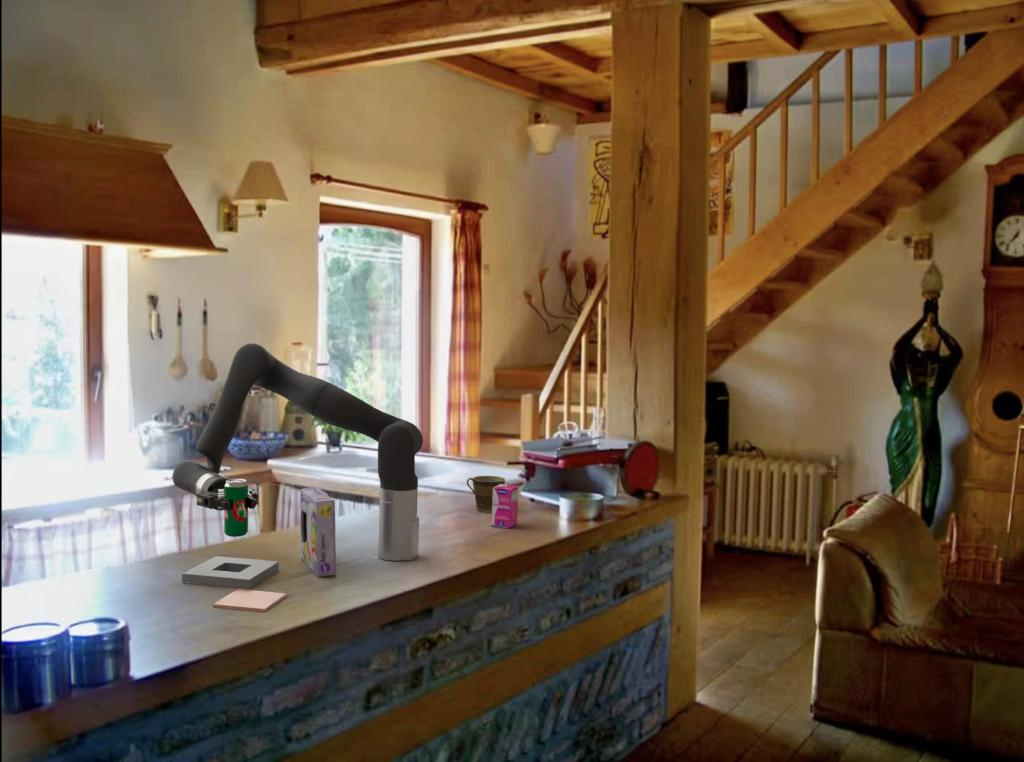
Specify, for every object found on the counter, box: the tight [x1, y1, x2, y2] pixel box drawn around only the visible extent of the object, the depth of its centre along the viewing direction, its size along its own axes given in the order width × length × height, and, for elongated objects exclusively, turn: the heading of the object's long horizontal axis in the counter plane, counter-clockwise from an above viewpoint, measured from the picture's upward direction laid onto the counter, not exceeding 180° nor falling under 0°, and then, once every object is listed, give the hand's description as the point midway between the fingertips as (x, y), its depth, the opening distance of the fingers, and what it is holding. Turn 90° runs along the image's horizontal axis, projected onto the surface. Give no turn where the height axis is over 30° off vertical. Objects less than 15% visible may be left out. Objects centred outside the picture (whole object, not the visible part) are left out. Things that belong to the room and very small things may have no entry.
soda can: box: [223, 478, 249, 538], centre depth 217 cm, size 5×5×12 cm
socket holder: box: [181, 555, 280, 590], centre depth 222 cm, size 16×16×2 cm
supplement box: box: [491, 484, 519, 530], centre depth 282 cm, size 6×6×12 cm
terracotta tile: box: [212, 588, 288, 613], centre depth 204 cm, size 11×11×1 cm
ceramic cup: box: [466, 475, 506, 514], centre depth 302 cm, size 13×10×10 cm
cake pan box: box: [299, 486, 337, 578], centre depth 232 cm, size 19×5×18 cm, turn 23°
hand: (241, 505), depth 215 cm, fingers closed on soda can, 4 cm apart
